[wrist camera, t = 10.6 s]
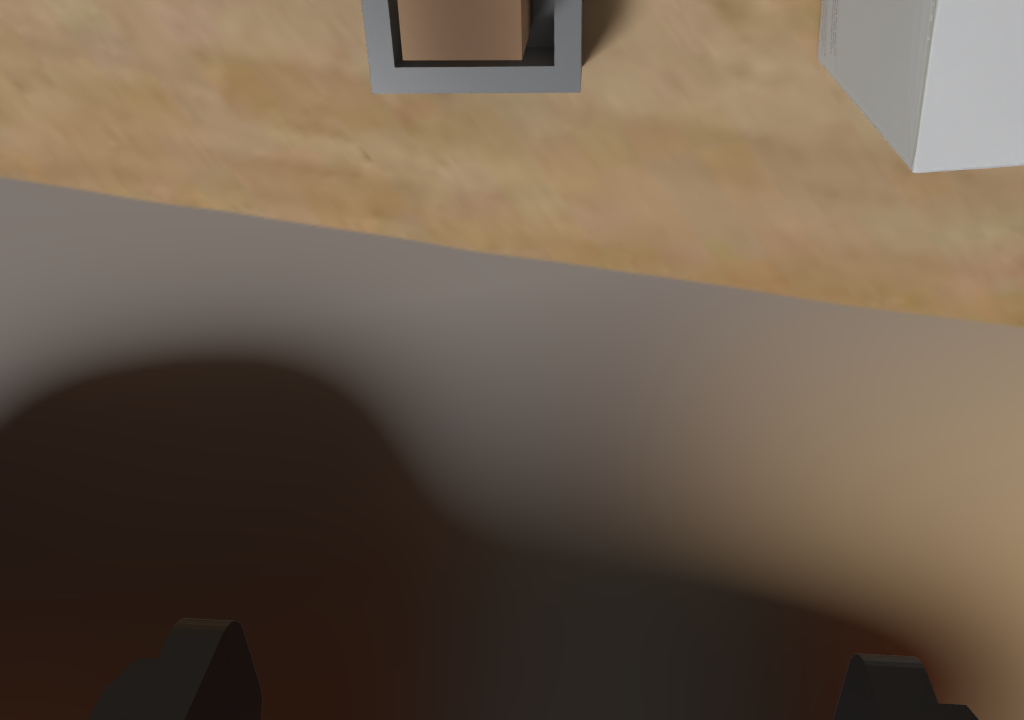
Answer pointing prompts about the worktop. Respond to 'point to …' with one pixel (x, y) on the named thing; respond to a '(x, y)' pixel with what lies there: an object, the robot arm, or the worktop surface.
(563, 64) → the endcap
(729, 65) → the worktop surface
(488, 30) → the brown wooden bar
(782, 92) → the worktop surface
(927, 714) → the robot arm
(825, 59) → the supplement box
